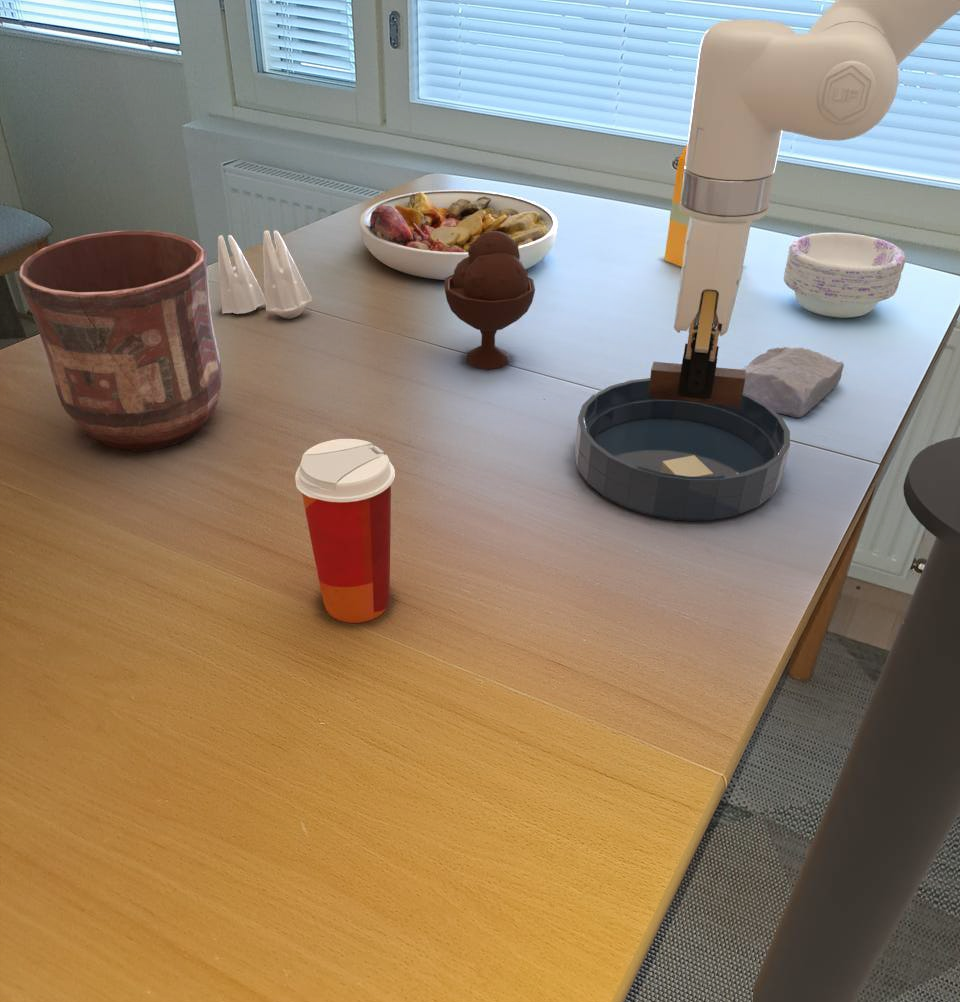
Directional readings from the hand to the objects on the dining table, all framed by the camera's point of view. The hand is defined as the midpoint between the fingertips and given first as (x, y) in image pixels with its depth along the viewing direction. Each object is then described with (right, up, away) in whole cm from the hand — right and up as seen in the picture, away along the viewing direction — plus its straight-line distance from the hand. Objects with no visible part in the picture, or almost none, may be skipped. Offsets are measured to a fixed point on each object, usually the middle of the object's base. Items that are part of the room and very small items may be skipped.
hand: (695, 389), depth 93 cm
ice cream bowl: (-20, +10, +25) cm, 34 cm away
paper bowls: (+28, +22, +40) cm, 54 cm away
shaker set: (-50, +19, +35) cm, 64 cm away
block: (-1, -11, 0) cm, 11 cm away
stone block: (+15, +5, +20) cm, 25 cm away
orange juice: (+13, +33, +52) cm, 63 cm away
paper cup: (-32, -22, -12) cm, 40 cm away
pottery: (-58, -1, +11) cm, 59 cm away
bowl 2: (-1, -7, +6) cm, 9 cm away
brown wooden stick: (0, -1, +1) cm, 1 cm away
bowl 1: (-25, +35, +53) cm, 69 cm away
